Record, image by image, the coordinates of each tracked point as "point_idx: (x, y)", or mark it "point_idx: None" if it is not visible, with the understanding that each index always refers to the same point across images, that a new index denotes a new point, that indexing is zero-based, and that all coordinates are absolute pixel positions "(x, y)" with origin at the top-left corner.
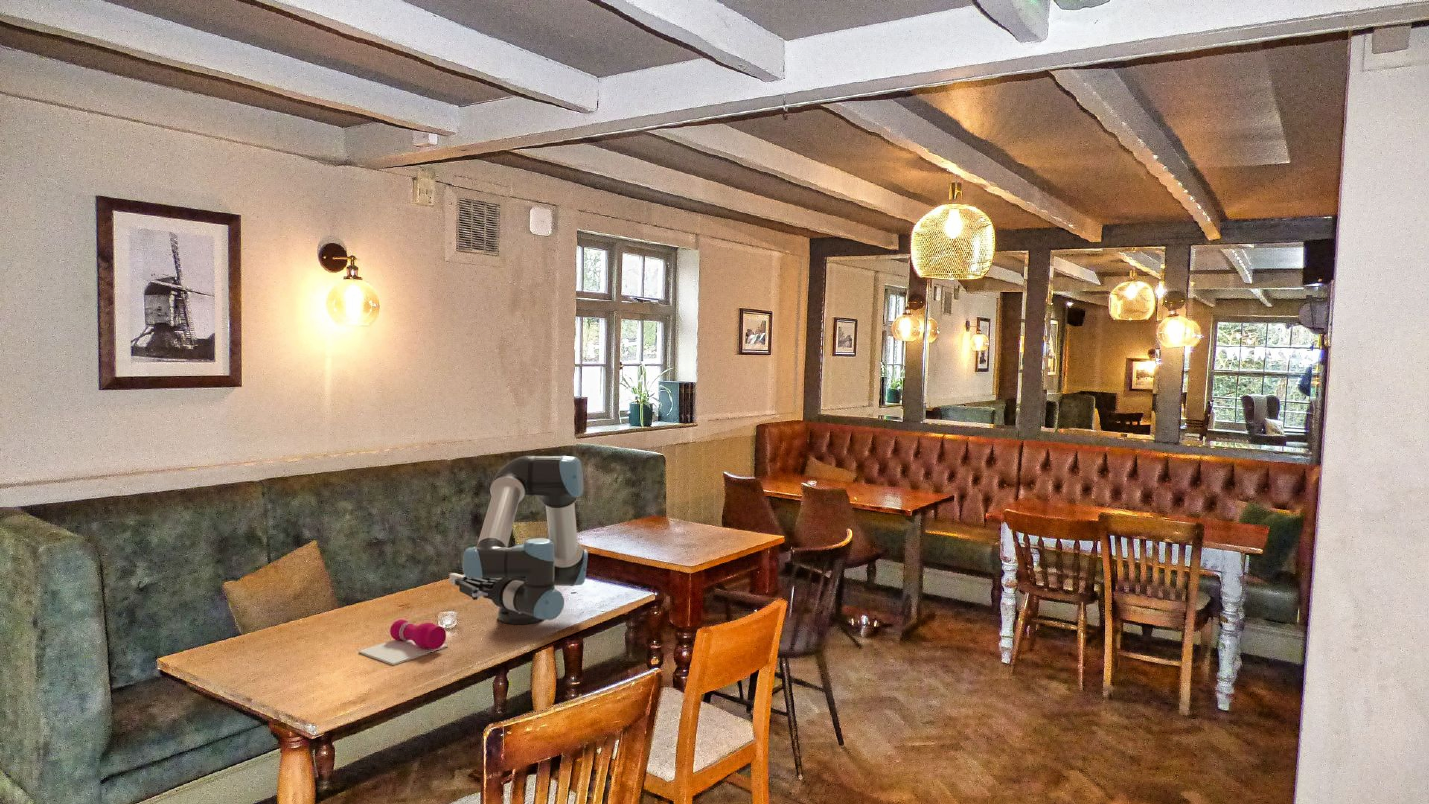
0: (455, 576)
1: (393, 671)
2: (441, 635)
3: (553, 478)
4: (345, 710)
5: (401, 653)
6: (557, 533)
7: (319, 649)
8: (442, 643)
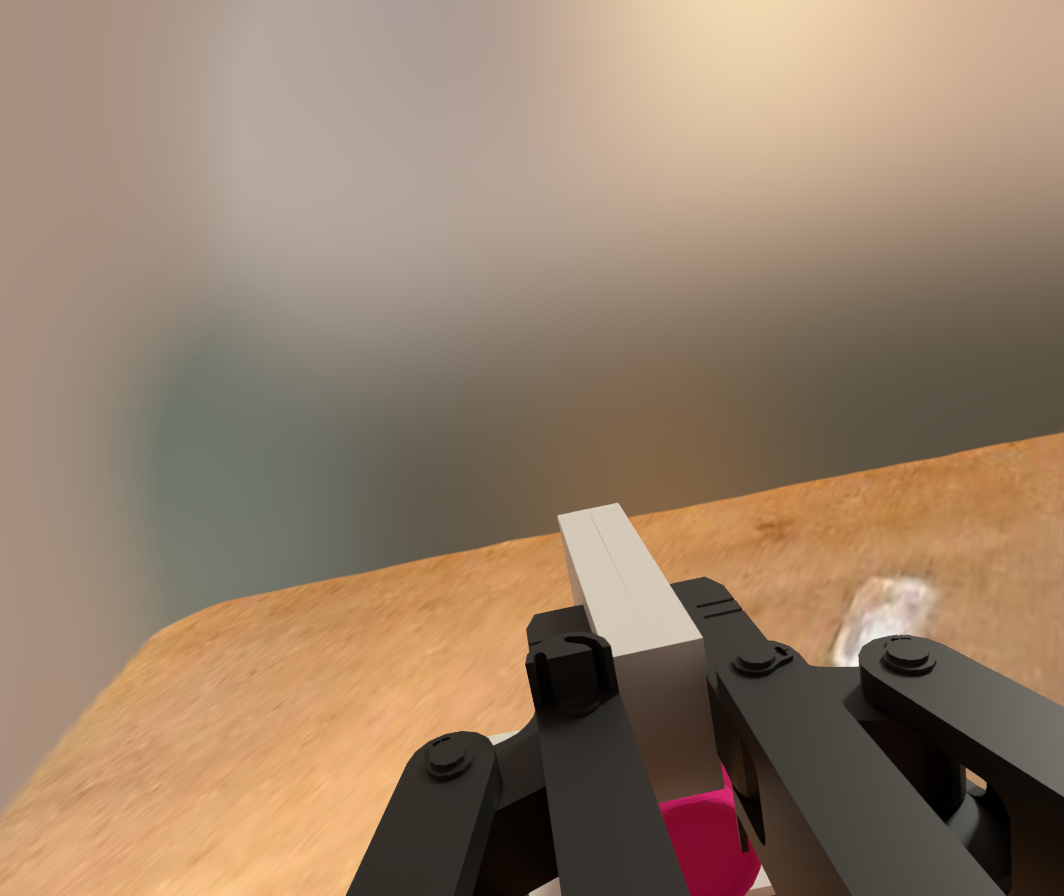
0: (573, 564)
1: None
2: (733, 840)
3: None
4: None
5: None
6: None
7: (395, 679)
8: (738, 892)
